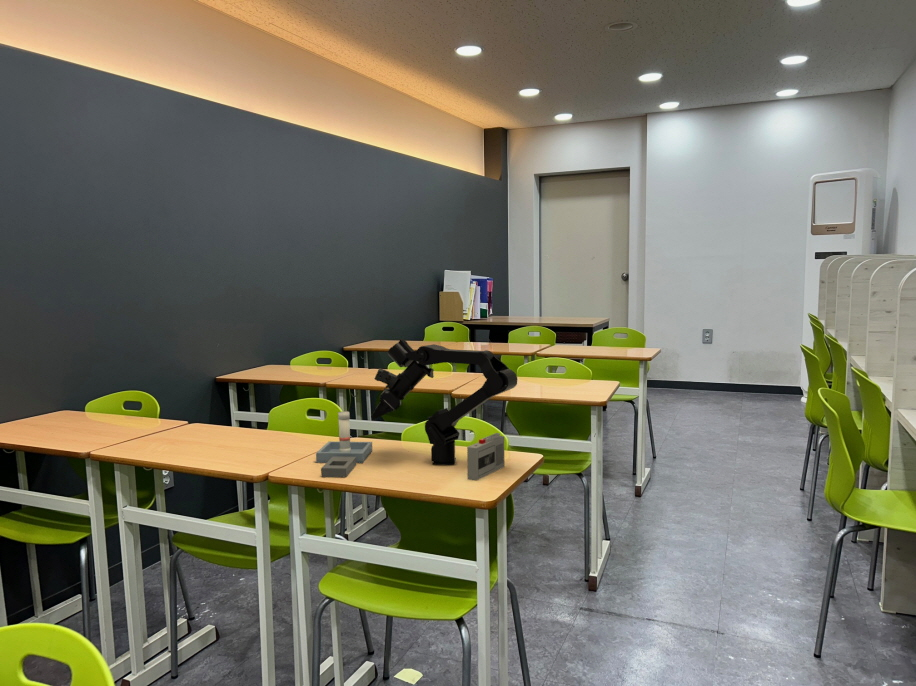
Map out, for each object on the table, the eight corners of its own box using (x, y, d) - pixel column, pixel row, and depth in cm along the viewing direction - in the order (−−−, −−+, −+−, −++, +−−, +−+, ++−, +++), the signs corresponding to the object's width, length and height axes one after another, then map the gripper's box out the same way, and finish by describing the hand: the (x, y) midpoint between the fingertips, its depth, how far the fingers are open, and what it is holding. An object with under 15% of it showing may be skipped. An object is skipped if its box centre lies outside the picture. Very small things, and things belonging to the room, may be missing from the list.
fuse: (352, 452, 203) (350, 411, 201) (349, 455, 199) (348, 413, 198) (341, 452, 203) (339, 411, 202) (338, 455, 199) (336, 413, 198)
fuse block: (356, 465, 192) (356, 456, 192) (346, 477, 180) (346, 468, 180) (332, 464, 192) (332, 456, 192) (321, 477, 180) (321, 468, 180)
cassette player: (476, 481, 176) (475, 444, 175) (467, 479, 177) (467, 443, 176) (504, 467, 189) (504, 432, 188) (496, 465, 190) (496, 431, 189)
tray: (372, 451, 208) (372, 441, 207) (362, 463, 194) (362, 453, 193) (329, 450, 209) (328, 441, 208) (316, 462, 195) (316, 452, 194)
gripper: (393, 355, 205) (358, 391, 206) (387, 363, 186) (349, 402, 187) (418, 380, 206) (384, 415, 207) (415, 390, 187) (377, 428, 188)
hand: (373, 414), depth 197 cm, fingers open, 9 cm apart
